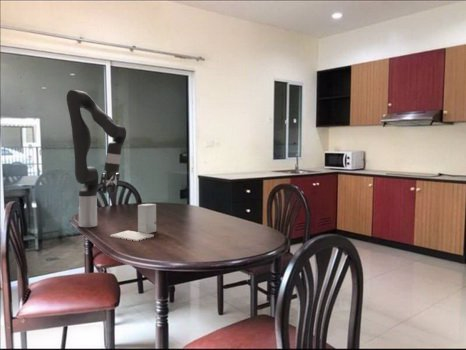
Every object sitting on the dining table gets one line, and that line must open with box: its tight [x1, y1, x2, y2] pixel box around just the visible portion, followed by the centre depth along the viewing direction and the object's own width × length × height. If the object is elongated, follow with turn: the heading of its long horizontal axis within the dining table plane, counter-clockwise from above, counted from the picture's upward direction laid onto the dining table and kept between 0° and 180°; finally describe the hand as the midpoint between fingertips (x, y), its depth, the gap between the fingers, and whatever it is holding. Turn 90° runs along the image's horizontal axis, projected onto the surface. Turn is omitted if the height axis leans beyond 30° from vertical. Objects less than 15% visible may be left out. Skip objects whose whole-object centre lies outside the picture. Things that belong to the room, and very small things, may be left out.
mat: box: [109, 230, 155, 242], centre depth 189 cm, size 18×12×1 cm, turn 61°
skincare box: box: [137, 203, 157, 234], centre depth 198 cm, size 8×6×15 cm
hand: (108, 192), depth 201 cm, fingers open, 8 cm apart
